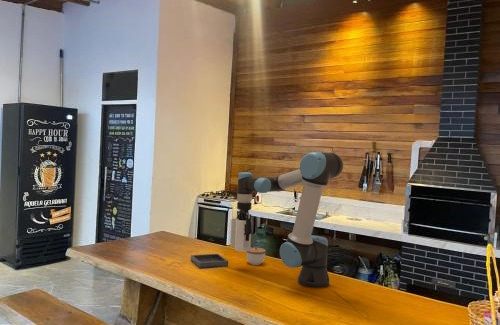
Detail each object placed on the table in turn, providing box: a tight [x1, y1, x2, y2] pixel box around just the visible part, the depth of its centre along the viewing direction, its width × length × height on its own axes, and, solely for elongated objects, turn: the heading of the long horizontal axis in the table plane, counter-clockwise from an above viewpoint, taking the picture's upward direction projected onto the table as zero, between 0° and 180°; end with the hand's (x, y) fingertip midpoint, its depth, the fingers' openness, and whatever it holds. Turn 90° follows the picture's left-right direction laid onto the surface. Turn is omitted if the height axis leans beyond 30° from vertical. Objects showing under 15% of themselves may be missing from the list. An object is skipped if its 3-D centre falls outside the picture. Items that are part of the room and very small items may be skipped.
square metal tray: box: [190, 253, 229, 270], centre depth 232 cm, size 16×16×3 cm
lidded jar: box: [245, 246, 266, 266], centre depth 237 cm, size 11×11×9 cm
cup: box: [234, 218, 253, 253], centre depth 224 cm, size 8×8×16 cm
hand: (242, 244), depth 224 cm, fingers closed on cup, 8 cm apart
